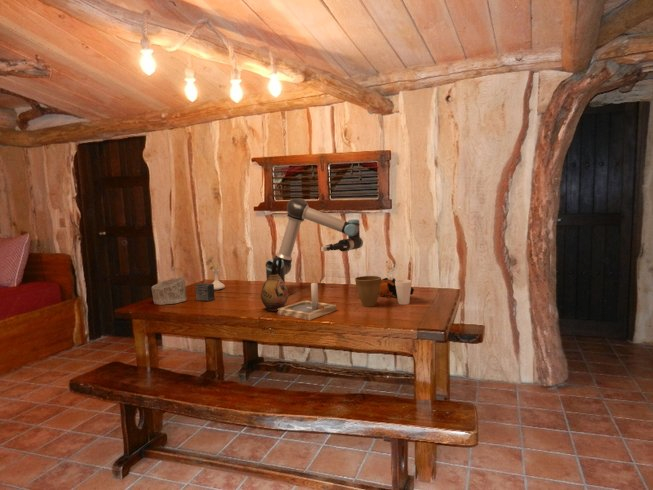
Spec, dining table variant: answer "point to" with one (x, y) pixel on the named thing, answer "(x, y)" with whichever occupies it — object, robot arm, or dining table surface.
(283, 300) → the ceramic jug
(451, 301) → the dining table surface
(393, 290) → the tool
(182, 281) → the petrified wood
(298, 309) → the beige peg stand
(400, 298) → the foam cup
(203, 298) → the small box
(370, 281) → the plant pot
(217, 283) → the flower in vase
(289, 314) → the wooden square tray
